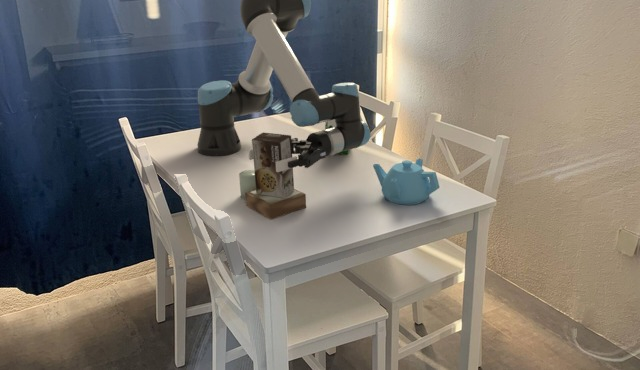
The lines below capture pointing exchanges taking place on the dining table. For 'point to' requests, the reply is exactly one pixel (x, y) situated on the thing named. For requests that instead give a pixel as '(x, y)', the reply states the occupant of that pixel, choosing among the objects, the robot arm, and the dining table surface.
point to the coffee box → (272, 164)
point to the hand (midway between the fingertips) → (262, 160)
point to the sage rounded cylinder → (247, 182)
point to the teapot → (407, 182)
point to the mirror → (275, 203)
